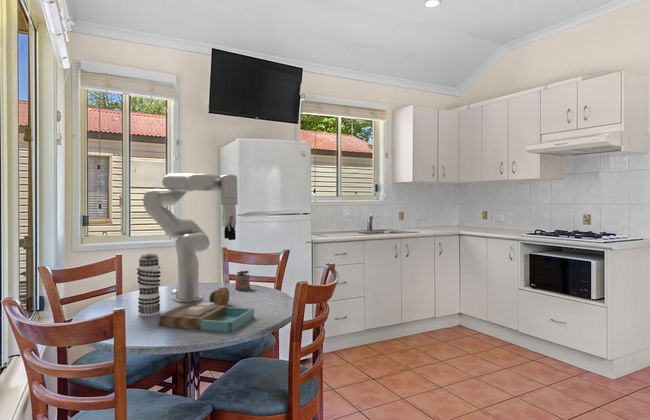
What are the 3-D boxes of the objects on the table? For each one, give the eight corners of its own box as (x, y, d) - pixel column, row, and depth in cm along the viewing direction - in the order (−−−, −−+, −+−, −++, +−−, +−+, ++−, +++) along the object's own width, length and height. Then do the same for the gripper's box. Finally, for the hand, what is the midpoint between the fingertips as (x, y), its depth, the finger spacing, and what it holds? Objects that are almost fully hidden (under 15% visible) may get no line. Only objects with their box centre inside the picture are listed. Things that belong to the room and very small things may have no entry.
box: (201, 329, 152) (201, 320, 152) (226, 315, 171) (226, 306, 171) (230, 332, 149) (230, 322, 149) (253, 317, 168) (253, 308, 168)
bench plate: (158, 325, 156) (158, 315, 156) (188, 312, 175) (188, 302, 175) (201, 329, 152) (201, 319, 152) (226, 315, 171) (226, 305, 171)
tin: (214, 312, 175) (214, 293, 175) (208, 312, 176) (208, 292, 176) (229, 304, 190) (229, 285, 190) (223, 303, 191) (223, 285, 190)
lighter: (236, 290, 218) (236, 271, 218) (234, 289, 221) (234, 270, 221) (250, 289, 222) (250, 270, 222) (248, 287, 225) (248, 269, 225)
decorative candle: (137, 311, 176) (137, 253, 175) (160, 309, 179) (160, 252, 179) (136, 317, 167) (136, 256, 167) (161, 315, 171) (161, 255, 170)
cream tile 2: (196, 309, 164) (196, 304, 164) (203, 306, 169) (203, 301, 169) (208, 310, 163) (208, 305, 163) (214, 307, 168) (214, 302, 168)
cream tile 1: (186, 314, 158) (186, 309, 157) (194, 311, 162) (194, 306, 162) (198, 315, 156) (198, 310, 156) (205, 311, 161) (205, 306, 161)
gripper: (217, 202, 194) (218, 238, 195) (224, 201, 178) (224, 240, 179) (233, 201, 197) (234, 237, 197) (241, 201, 181) (242, 240, 182)
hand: (229, 239), depth 188 cm, fingers open, 9 cm apart
